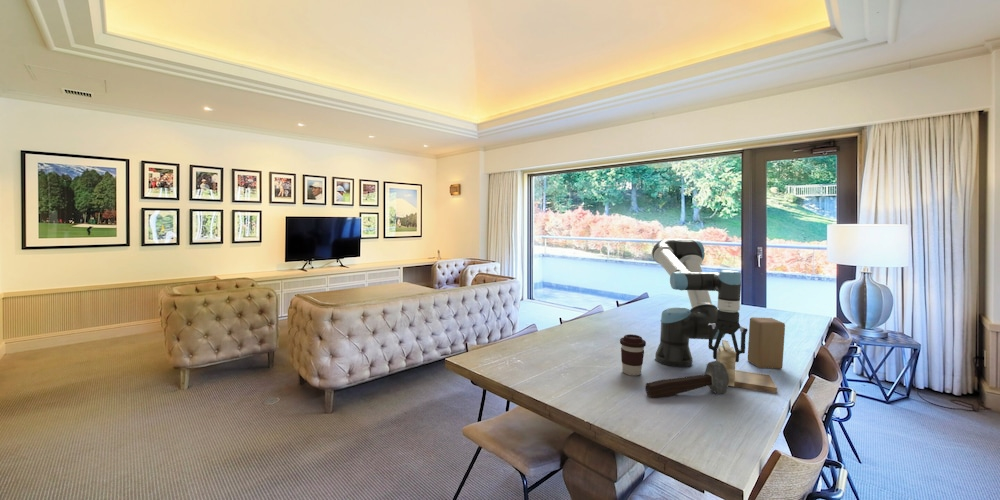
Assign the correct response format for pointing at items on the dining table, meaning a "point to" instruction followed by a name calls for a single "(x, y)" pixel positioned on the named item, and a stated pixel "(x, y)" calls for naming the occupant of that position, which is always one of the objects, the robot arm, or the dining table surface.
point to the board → (754, 381)
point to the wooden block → (766, 342)
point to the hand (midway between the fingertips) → (725, 368)
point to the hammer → (691, 382)
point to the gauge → (728, 360)
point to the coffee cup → (632, 354)
